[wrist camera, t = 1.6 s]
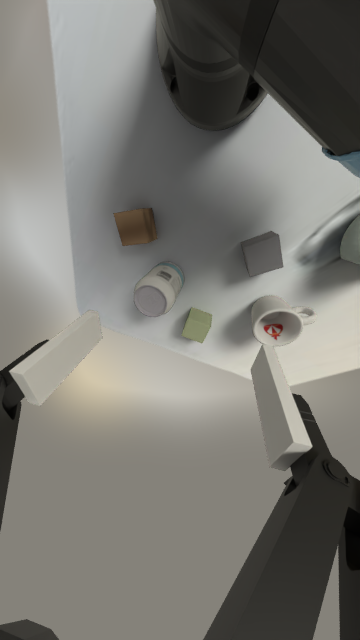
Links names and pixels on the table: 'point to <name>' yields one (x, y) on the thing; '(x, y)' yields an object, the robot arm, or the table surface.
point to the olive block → (197, 325)
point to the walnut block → (136, 226)
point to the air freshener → (351, 243)
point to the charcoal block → (262, 253)
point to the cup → (278, 321)
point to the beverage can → (158, 289)
